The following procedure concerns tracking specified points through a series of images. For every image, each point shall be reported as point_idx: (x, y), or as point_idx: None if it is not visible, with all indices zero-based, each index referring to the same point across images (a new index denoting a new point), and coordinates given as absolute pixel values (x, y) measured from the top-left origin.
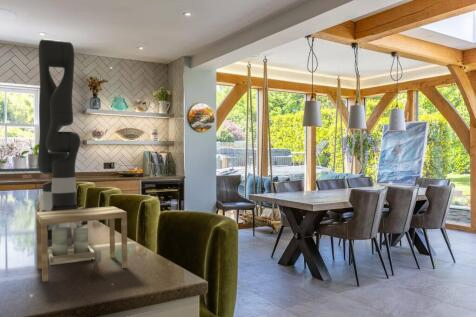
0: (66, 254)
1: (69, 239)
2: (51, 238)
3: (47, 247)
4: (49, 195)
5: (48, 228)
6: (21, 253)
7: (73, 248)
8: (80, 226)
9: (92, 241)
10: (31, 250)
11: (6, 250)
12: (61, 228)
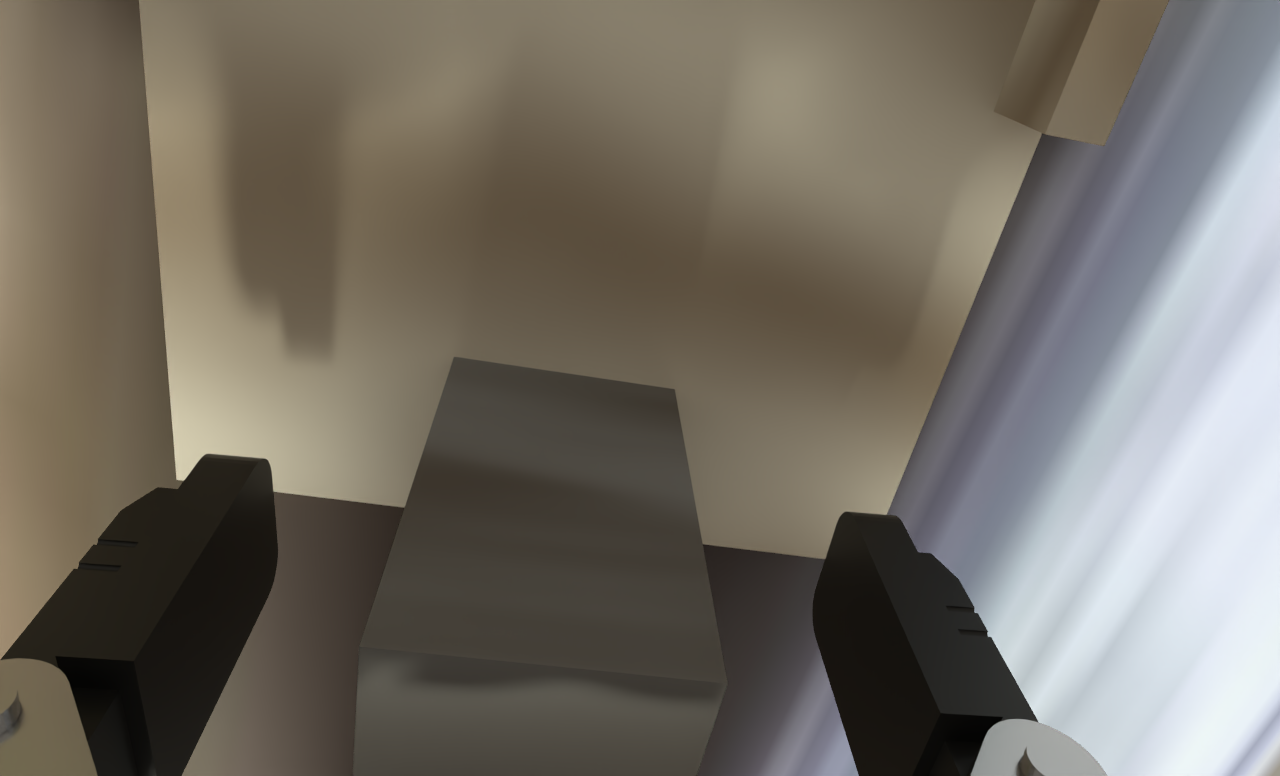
0: None
1: (479, 440)
2: (886, 544)
3: (1099, 136)
4: None
5: (1084, 767)
6: (1251, 483)
7: (472, 94)
8: (7, 671)
9: (9, 606)
10: (1048, 579)
11: (1251, 755)
12: (643, 772)
